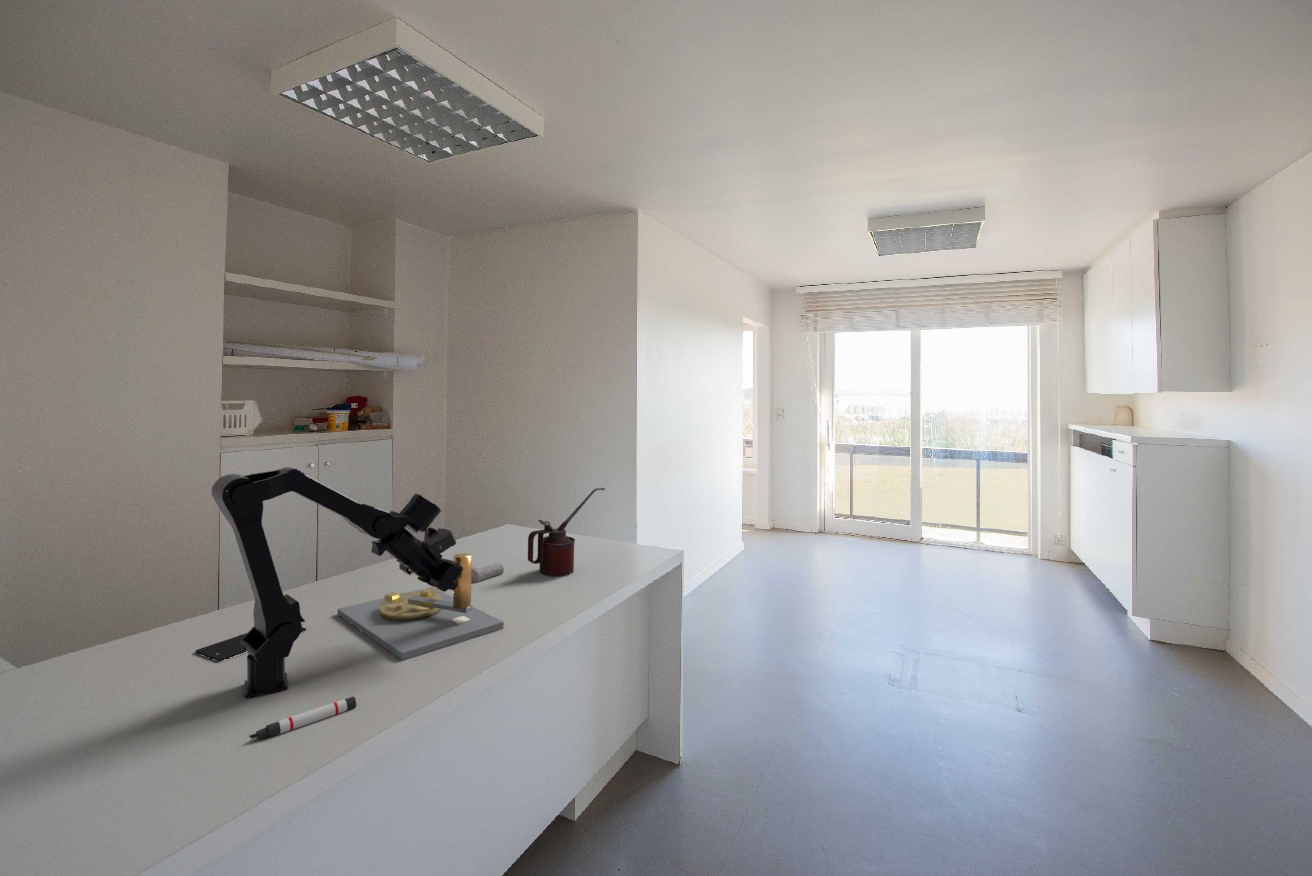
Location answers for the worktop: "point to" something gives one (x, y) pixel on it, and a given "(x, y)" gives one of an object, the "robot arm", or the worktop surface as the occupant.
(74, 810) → the worktop surface
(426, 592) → the brass wheel crank mechanism
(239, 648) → the cell phone
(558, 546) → the oil can
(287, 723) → the marker
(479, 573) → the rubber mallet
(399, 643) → the grey rectangular board
